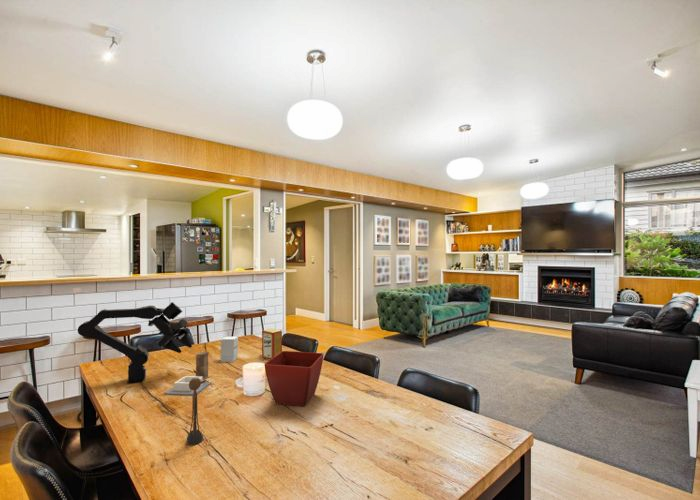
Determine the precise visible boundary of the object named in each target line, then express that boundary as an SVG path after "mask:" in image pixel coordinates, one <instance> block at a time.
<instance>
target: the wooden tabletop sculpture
mask: <svg viewBox="0 0 700 500" xmlns="http://www.w3.org/2000/svg"><path fill="white" fill-rule="evenodd" d="M205 382H207V381H206V379H204V380H200V379H199V378H193V379H192V380H191V381H190V382H189V388H190V390H194V393H192V395H191V398H192V404H191V405H192V406H191V409H192V411H191V424H190V430H189V433H188V434H187V437H186V441H185V442H186V444H187V445H189V446H194V445H198V444H200V443H202V442H203V440H204V434H203V433H202V431H201V430H200V425H199V417H198V394H199V393H197V392H196V390H197V389H199V387H200V385H201V384H202V383H205Z"/></svg>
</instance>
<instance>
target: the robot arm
mask: <svg viewBox="0 0 700 500" xmlns="http://www.w3.org/2000/svg"><path fill="white" fill-rule="evenodd" d="M182 313H183V310H182V309H181V308H180V307H179V306H178V305H177V304H175V303H174V302H170V303H169V305H167V306H166V307H165V308H157V307H156V306H155V305H146V306H141V307H137V308H120V309H119V308H117V309H107V308H106V309H101V310H100V311H99V312H98V313H97V314H96V315H95V316H93V317H92V318H91V319H89V320H87V321H84V322H83V323H81V324H80V325H79V326H78V328H77V334H78V335H80V336H81V337H84V338H88V339H90V340H91V339H92V340H96V341H98V342H100V343H102V344H104V345H106V346H108V347H110V348H112V349H114V350H116V351H117V352H120V353H122V354H124V356H126V357H127V358H128V359H129V360H130V362H129V365H128V366H127V367H128V369H127V372H128V373H127V382H126V383H127V384H132V383H142V382H144V380H145V379H146V378H147V368H146V367H145V364H147V362H148V360H149V357H150V352H148V351H147V350H148V349H147V348H144V347H142V345H138V346H137V347H135V346H132V345H130V344H128V343H126V342H124V341H123V340H121V339H119V338H117V337H115V336H113V335H111V334H110V333H108V332H106V331H104V330H103V328H102V327H101V326H100V324H101V323H102V322H103V321H104V320H106V319H123V318H125V319H126V318H127V319H128V318H139V319H144V320H148V324H147V326H148V327H153V326H155V327H156V329H157V330H158V331H159V332H158V333H159V335H162V337H161V338H160V339H159V341H157V346H158V348H162V349H166V350H170V351H172V352H175V353H179V354H181V353H182V350H181V348H180V347H179V346H178V345H177V343H176V340H178V342H180V343H181V344H182V345H184V346H186V347H188V348H190V349H191V348H192V347H193V345H192V343H191V339H190V338H189V334H190V332H191V330H190V329H189V328H188V321H187V320H186V319H184V318H182V319H181V320H179V321H178V322H176V323H174V322H172V323H171V322H170V321H169V320H175V319H176V318H177V317H179V315H181V314H182ZM151 319H152V320H151Z"/></svg>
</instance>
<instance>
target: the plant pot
mask: <svg viewBox="0 0 700 500" xmlns="http://www.w3.org/2000/svg"><path fill="white" fill-rule="evenodd" d="M323 362H324V353H321V352H307V351H292V350H291V351H290V350H282V352H280V353H279V354H277V355H276V356H275V357H273V358H272V359H271V360H268V361H266V362H264V371H265V375H266V380H267V383H268V387H269V390H270V393H271V395H272V399H273V401H274V404H276V405H282V406H283V405H284V406H291V407H292V406H293V407H307V405H308V404H309V402H310V401H311V400H312V398H313V397H314V395H315V393H316V391H317V388H318V384H319V380H320V376H321V372H322V367H323Z"/></svg>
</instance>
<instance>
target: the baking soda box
mask: <svg viewBox="0 0 700 500" xmlns="http://www.w3.org/2000/svg"><path fill="white" fill-rule="evenodd" d="M282 351H283V330H279V329H276V328H268V329H262V330H261V358H262V359H265V358H266V360H268V359H269V360H271V359H272V358H273V357H275V356H276V355H277V354H279V353H280V352H282ZM269 360H268V361H269Z"/></svg>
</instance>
